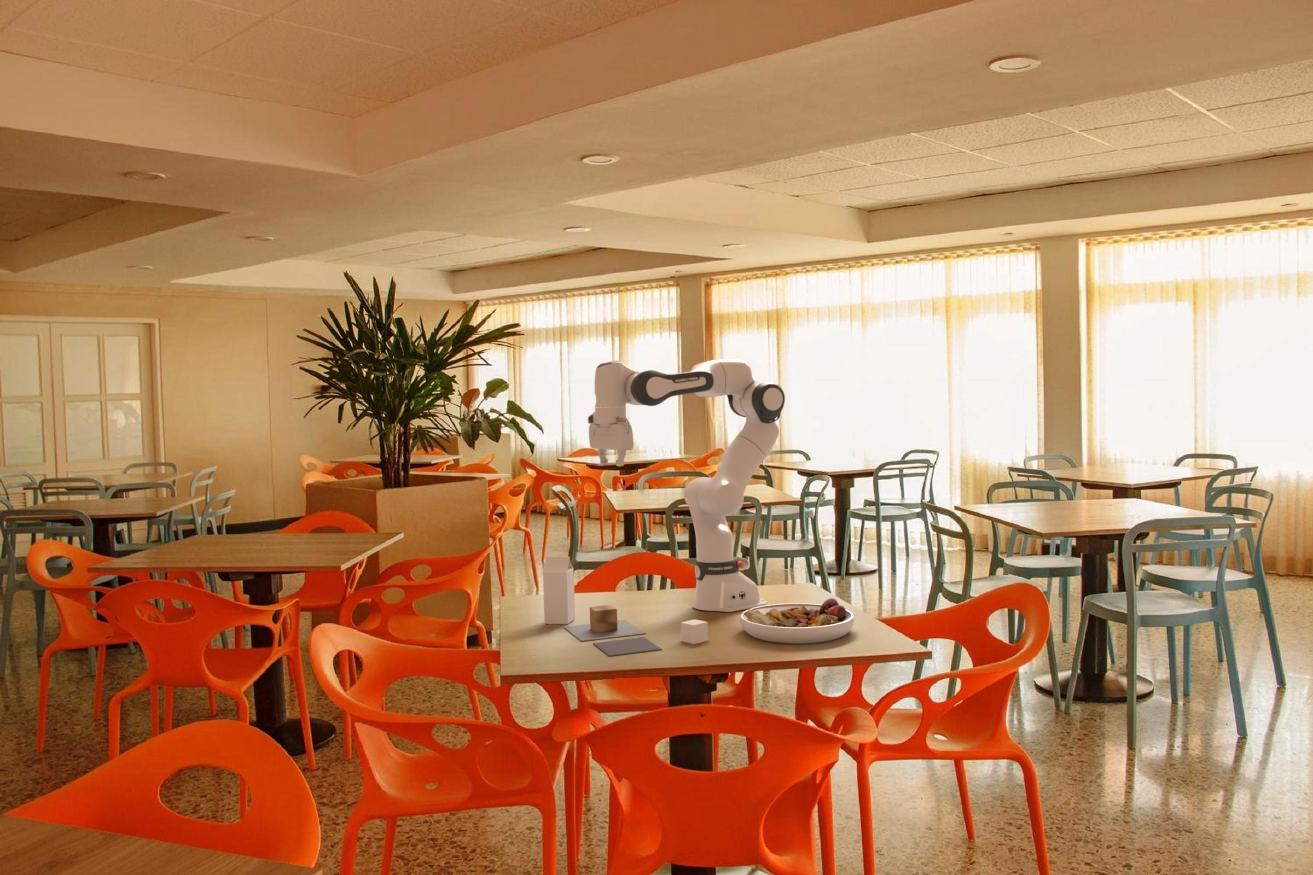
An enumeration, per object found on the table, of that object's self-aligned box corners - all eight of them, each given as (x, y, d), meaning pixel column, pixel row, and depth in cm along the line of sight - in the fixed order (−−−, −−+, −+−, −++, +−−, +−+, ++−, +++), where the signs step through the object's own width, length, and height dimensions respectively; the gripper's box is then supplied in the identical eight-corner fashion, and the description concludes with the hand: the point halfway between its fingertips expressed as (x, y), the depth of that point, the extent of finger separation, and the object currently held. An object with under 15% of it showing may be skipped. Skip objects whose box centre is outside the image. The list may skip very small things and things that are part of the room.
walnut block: (610, 625, 280) (610, 604, 280) (617, 630, 274) (616, 608, 274) (590, 628, 278) (589, 606, 278) (596, 632, 272) (595, 610, 272)
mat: (643, 637, 267) (643, 636, 267) (662, 649, 253) (661, 648, 253) (593, 644, 262) (593, 642, 262) (609, 656, 249) (609, 655, 249)
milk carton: (568, 624, 285) (566, 558, 285) (544, 624, 287) (542, 558, 286) (575, 619, 292) (573, 554, 291) (551, 618, 294) (549, 554, 293)
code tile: (624, 620, 288) (624, 619, 288) (645, 634, 271) (645, 632, 271) (563, 627, 282) (563, 626, 282) (581, 641, 265) (581, 640, 265)
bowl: (789, 653, 247) (788, 621, 247) (718, 631, 273) (717, 602, 272) (878, 634, 263) (877, 605, 263) (803, 615, 288) (802, 588, 288)
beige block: (695, 637, 265) (694, 619, 265) (708, 640, 262) (707, 621, 261) (681, 641, 262) (680, 622, 262) (694, 644, 258) (693, 625, 258)
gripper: (638, 417, 281) (639, 466, 281) (603, 417, 298) (604, 463, 299) (618, 417, 277) (620, 467, 278) (584, 417, 295) (585, 464, 295)
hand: (611, 465), depth 289 cm, fingers open, 8 cm apart
